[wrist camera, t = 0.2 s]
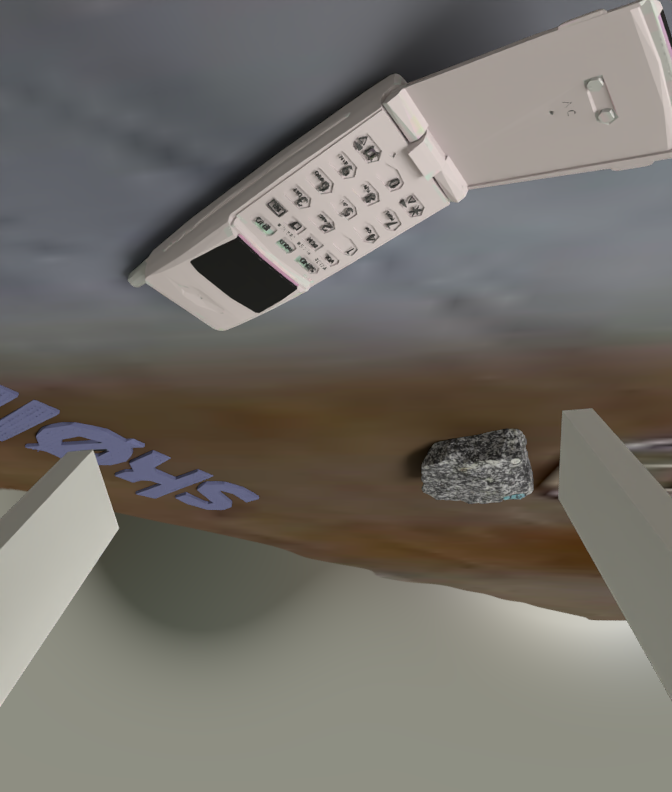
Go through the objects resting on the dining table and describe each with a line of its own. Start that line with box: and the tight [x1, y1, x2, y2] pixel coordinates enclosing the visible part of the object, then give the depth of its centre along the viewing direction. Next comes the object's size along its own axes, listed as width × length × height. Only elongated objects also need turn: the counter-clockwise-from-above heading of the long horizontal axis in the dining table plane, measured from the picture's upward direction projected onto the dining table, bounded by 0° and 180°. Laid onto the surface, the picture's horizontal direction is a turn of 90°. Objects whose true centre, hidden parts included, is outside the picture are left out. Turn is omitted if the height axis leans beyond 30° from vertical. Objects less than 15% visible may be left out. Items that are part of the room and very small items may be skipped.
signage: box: [0, 385, 259, 510], centre depth 52 cm, size 28×1×10 cm
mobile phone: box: [128, 0, 672, 331], centre depth 24 cm, size 6×6×25 cm
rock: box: [421, 429, 534, 504], centre depth 49 cm, size 8×10×4 cm
